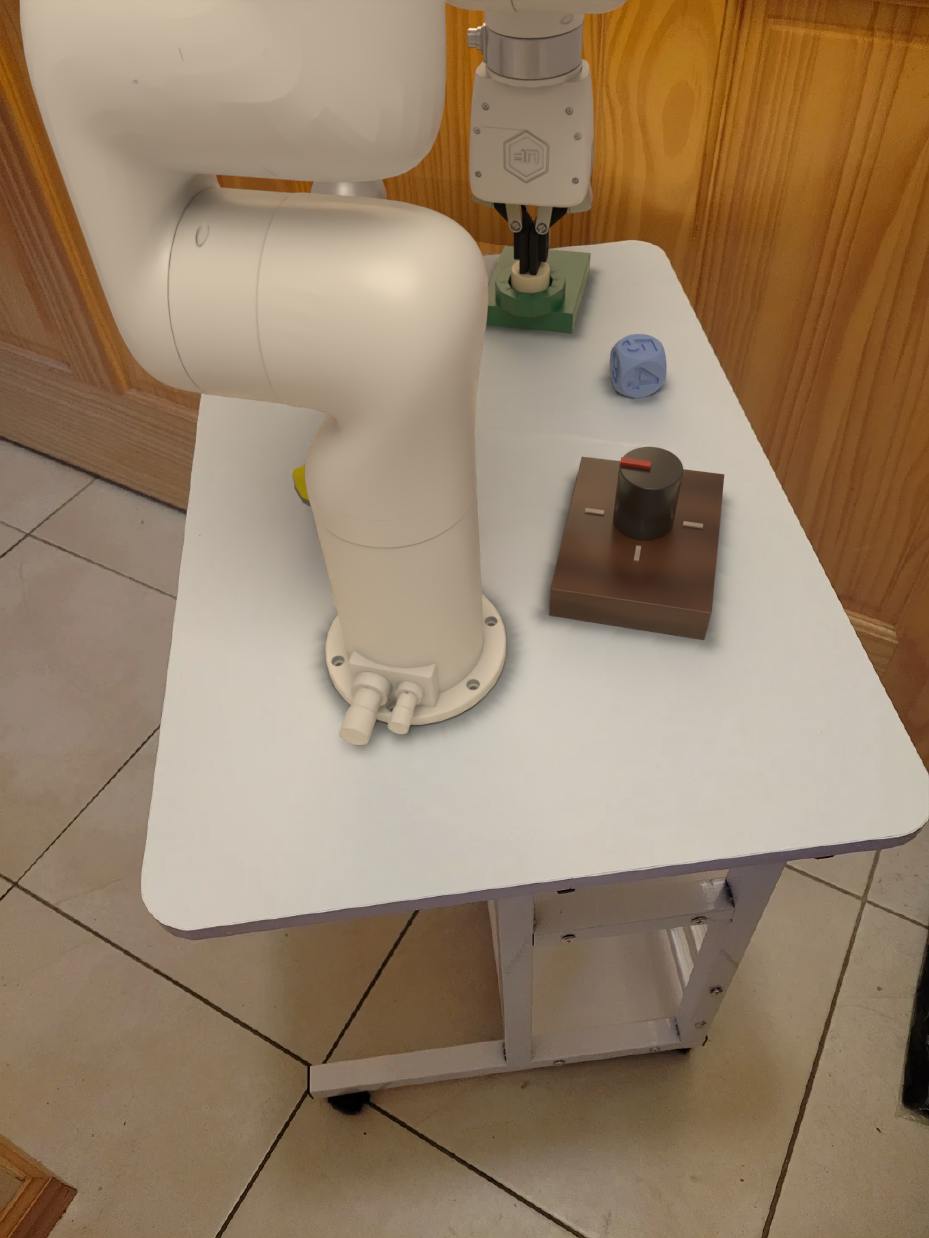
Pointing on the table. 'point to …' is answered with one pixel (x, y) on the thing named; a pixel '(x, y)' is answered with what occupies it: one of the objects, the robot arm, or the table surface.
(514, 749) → the table surface
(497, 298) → the lamp base
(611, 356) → the decorative dice
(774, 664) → the table surface
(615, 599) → the dimmer panel
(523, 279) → the lamp switch
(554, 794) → the table surface
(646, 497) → the dimmer knob
